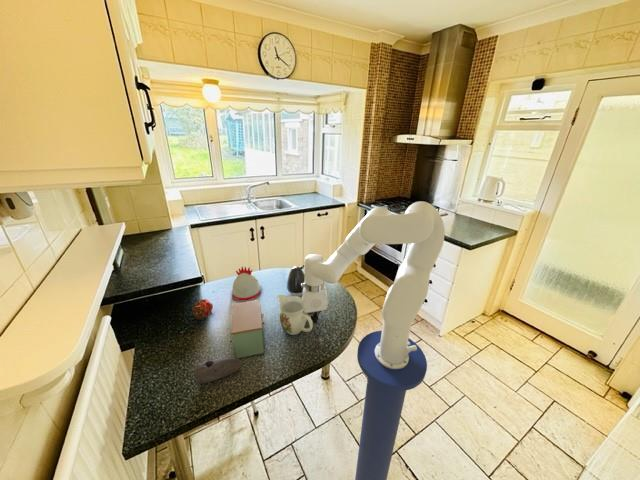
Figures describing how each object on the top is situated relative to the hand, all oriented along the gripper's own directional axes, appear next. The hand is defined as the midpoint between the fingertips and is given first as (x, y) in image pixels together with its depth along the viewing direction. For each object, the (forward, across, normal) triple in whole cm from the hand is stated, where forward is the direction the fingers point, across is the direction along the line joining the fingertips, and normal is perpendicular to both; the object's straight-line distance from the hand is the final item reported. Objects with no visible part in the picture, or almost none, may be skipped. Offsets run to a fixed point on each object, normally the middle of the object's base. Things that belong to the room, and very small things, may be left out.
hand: (314, 321), depth 108 cm
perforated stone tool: (+4, -36, -14) cm, 39 cm away
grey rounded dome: (+4, -28, +33) cm, 43 cm away
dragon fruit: (+4, -47, +19) cm, 51 cm away
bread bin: (+3, -27, 0) cm, 27 cm away
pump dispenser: (+4, -3, +26) cm, 26 cm away
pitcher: (+4, -8, 0) cm, 9 cm away
